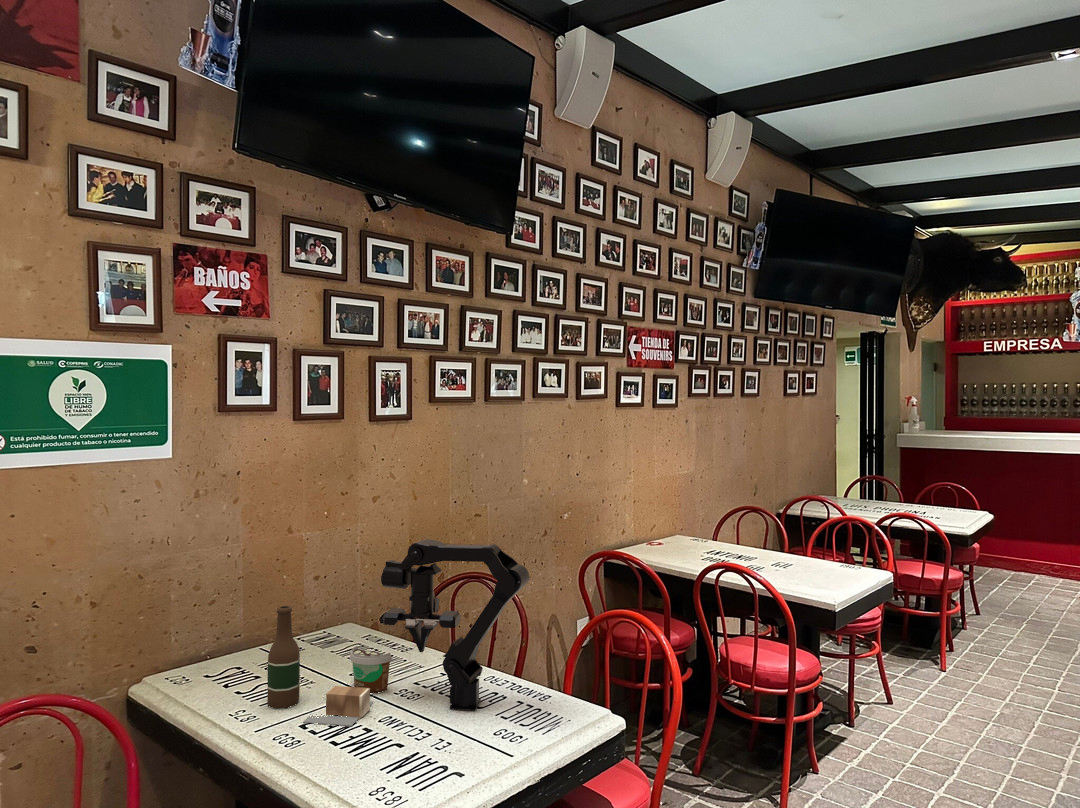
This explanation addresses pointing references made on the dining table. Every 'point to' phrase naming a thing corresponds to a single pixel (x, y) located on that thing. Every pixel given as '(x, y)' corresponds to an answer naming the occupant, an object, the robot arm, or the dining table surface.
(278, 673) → the beer bottle
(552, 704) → the dining table surface
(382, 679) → the food container
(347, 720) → the mat
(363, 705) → the block
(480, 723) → the dining table surface
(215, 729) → the dining table surface
